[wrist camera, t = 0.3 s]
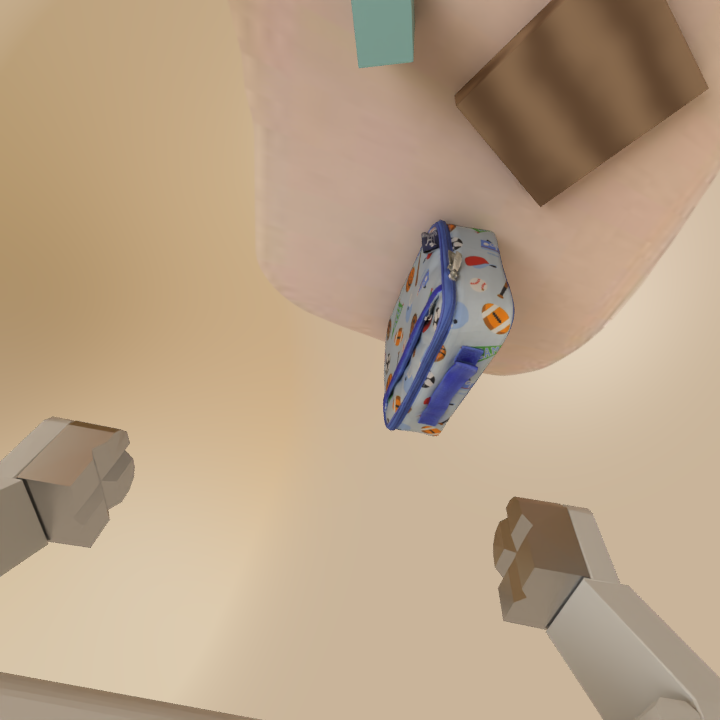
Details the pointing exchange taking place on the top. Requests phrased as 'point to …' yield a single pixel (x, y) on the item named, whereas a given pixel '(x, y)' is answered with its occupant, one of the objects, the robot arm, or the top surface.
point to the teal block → (383, 31)
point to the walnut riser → (580, 88)
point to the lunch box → (444, 327)
